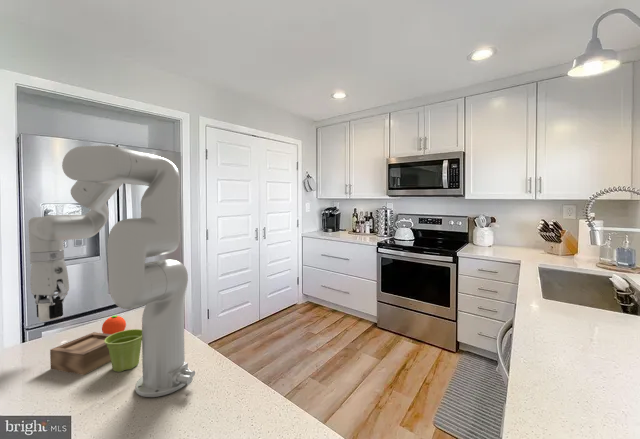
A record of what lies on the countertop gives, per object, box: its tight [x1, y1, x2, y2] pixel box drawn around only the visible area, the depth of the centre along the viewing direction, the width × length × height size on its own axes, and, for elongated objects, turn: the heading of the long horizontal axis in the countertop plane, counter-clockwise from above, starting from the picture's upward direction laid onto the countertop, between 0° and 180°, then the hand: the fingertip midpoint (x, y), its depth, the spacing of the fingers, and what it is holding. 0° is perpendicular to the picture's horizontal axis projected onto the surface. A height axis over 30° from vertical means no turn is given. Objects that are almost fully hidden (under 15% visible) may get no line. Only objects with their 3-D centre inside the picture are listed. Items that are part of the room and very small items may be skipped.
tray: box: [49, 331, 112, 376], centre depth 83 cm, size 12×12×6 cm
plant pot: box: [104, 328, 142, 373], centre depth 80 cm, size 9×9×9 cm
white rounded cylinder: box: [38, 296, 62, 322], centre depth 87 cm, size 5×5×6 cm
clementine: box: [101, 315, 127, 334], centre depth 101 cm, size 8×7×7 cm
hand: (50, 316), depth 87 cm, fingers closed on white rounded cylinder, 5 cm apart
